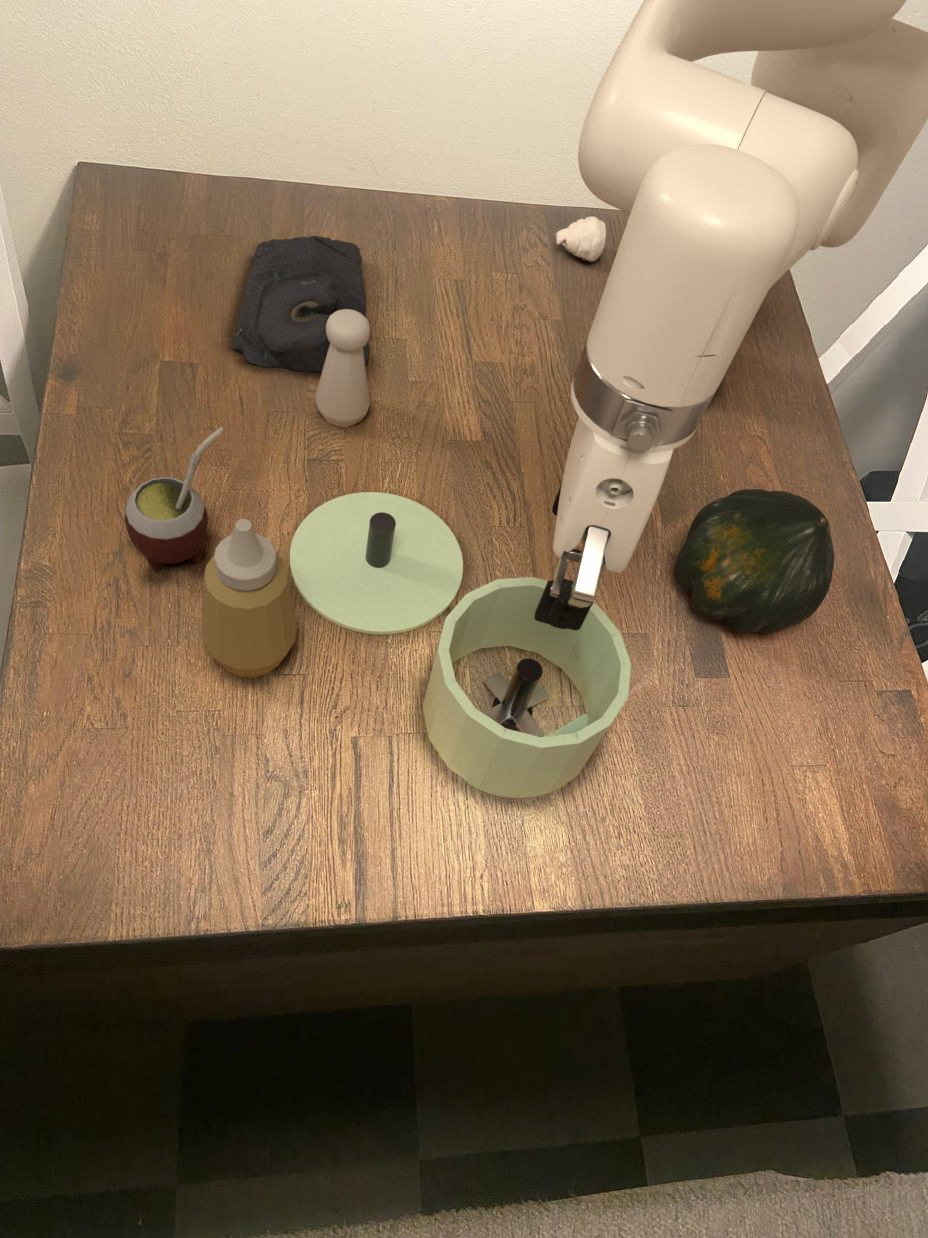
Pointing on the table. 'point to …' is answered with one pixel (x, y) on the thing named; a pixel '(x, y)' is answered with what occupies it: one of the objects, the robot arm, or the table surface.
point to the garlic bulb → (584, 238)
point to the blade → (517, 697)
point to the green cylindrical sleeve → (583, 654)
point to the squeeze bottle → (247, 604)
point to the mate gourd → (169, 517)
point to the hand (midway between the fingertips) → (564, 567)
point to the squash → (757, 560)
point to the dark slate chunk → (297, 301)
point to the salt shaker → (344, 370)
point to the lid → (376, 563)
